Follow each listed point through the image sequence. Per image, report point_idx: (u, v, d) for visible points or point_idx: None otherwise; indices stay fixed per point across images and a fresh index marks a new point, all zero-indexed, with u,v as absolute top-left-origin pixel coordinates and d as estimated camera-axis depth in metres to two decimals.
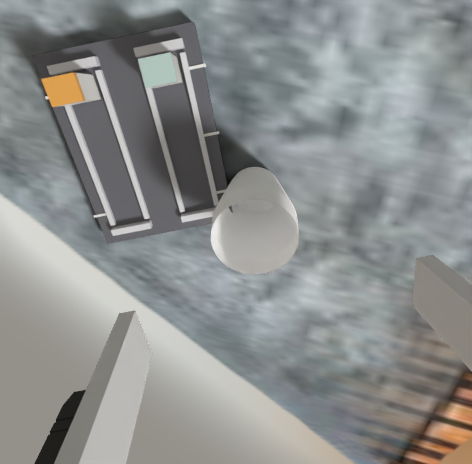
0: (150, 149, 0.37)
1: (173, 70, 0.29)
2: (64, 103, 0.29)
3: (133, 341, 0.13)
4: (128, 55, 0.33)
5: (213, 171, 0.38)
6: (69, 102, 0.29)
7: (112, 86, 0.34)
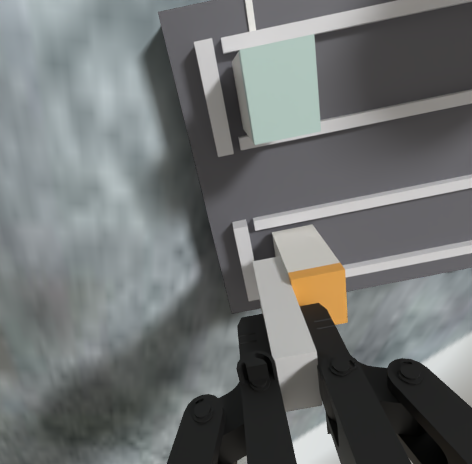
0: (406, 143, 0.17)
1: (285, 44, 0.10)
2: (344, 302, 0.14)
3: None
4: (228, 168, 0.17)
5: None
6: (344, 293, 0.14)
7: (280, 203, 0.18)
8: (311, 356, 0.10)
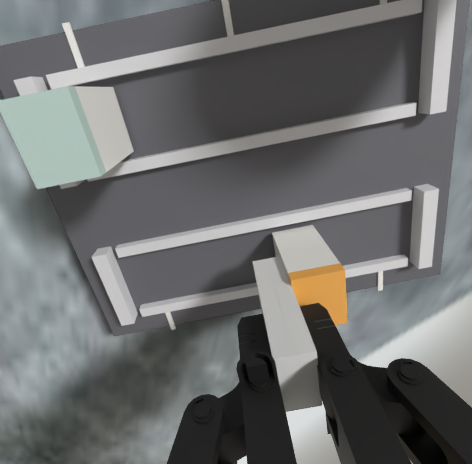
0: (259, 173, 0.17)
1: (40, 95, 0.10)
2: (344, 302, 0.14)
3: None
4: (83, 197, 0.17)
5: (324, 12, 0.14)
6: (344, 294, 0.14)
7: (143, 231, 0.18)
8: (311, 356, 0.10)
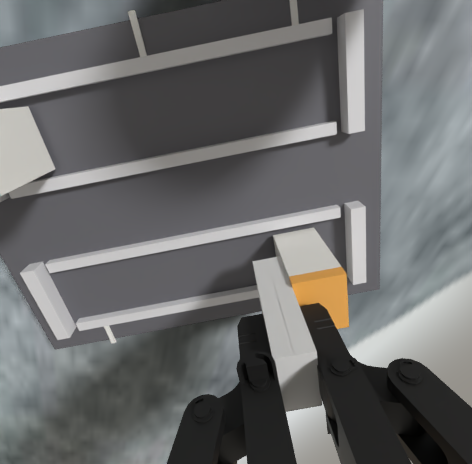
0: (186, 190, 0.17)
1: None
2: (345, 306, 0.14)
3: None
4: (10, 214, 0.17)
5: (236, 33, 0.14)
6: (345, 298, 0.14)
7: (74, 247, 0.18)
8: (311, 356, 0.10)
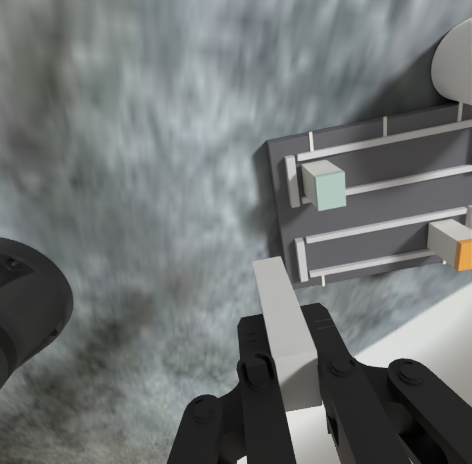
0: (387, 199, 0.33)
1: (333, 175, 0.26)
2: None
3: None
4: (295, 211, 0.33)
5: (430, 125, 0.30)
6: None
7: (320, 229, 0.34)
8: (311, 356, 0.10)
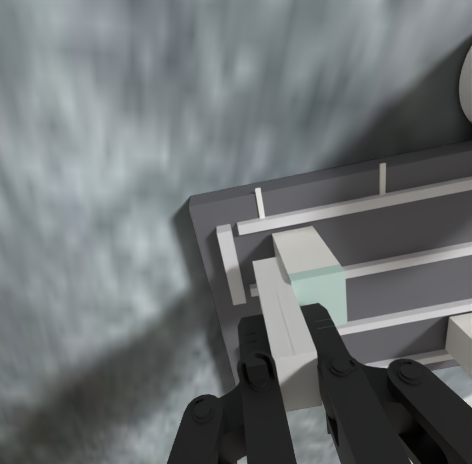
0: (386, 285, 0.21)
1: (323, 277, 0.14)
2: None
3: None
4: (241, 305, 0.21)
5: (457, 175, 0.18)
6: None
7: None
8: (311, 356, 0.10)
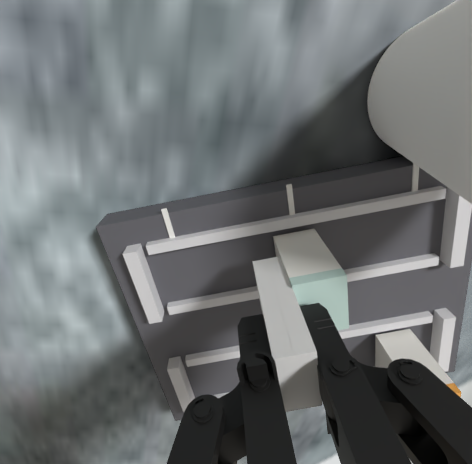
0: None
1: (325, 281, 0.14)
2: None
3: None
4: (162, 322, 0.21)
5: (367, 196, 0.18)
6: None
7: (208, 345, 0.22)
8: (311, 356, 0.10)
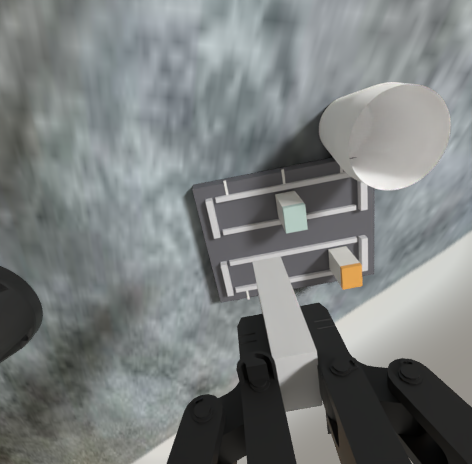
0: None
1: (296, 206, 0.34)
2: (361, 277, 0.38)
3: None
4: (218, 240, 0.41)
5: (319, 175, 0.38)
6: (361, 274, 0.38)
7: (241, 254, 0.42)
8: (311, 356, 0.10)
